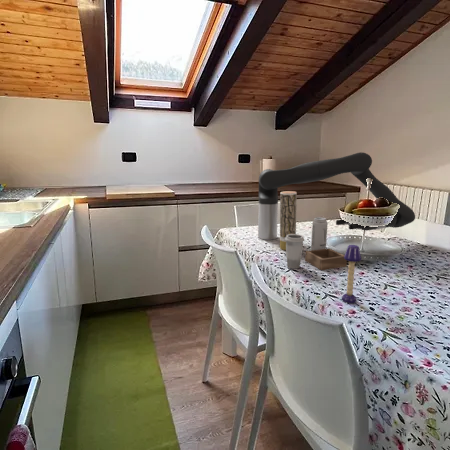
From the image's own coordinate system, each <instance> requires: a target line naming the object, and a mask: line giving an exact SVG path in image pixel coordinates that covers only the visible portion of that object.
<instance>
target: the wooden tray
mask: <svg viewBox="0 0 450 450" xmlns="http://www.w3.org/2000/svg"><path fill="white" fill-rule="evenodd" d="M304 252H305V253H304V255H305V256H304V261H305V262H306V263H308V264H310V265H311V266H313V267H315V268H317V269H318V270H320V271H325V270H332V269H339V268H346V267H347V260H345V259H344V256H345V254H342V253H340V252H338V251H336V250H333V249H332V248H330V247H328V248H326V249H319V250H311V249H310V250H306V251H304Z"/></svg>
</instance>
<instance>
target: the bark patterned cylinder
mask: <svg viewBox="0 0 450 450" xmlns="http://www.w3.org/2000/svg"><path fill="white" fill-rule="evenodd" d="M297 196H298V195H297V191H294V190H293V191H292V190H287V191H286V190H285V191H281V192H280V195H279V197H280V200H279V201H280V202H279V248H280V250H283V251H286V240H285V238H286V236H287V235H289V234H297V198H298V197H297Z"/></svg>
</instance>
